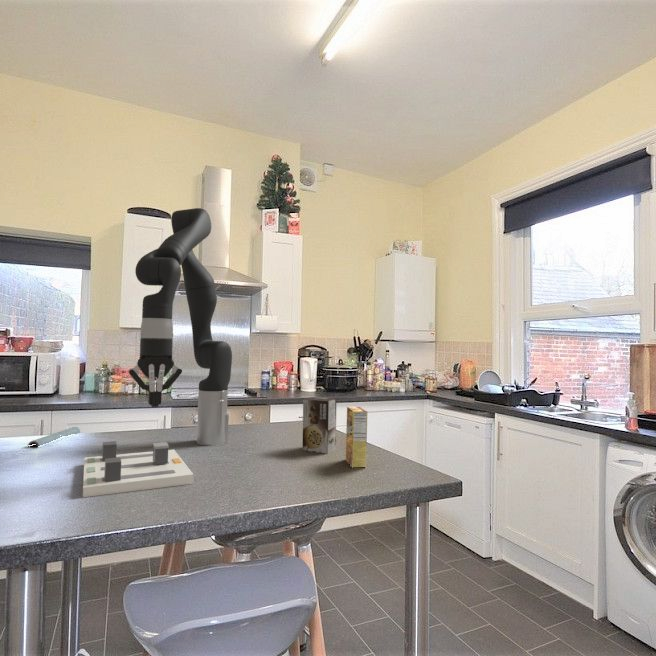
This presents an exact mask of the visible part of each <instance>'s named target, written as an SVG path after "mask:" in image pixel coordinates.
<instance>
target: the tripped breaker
mask: <svg viewBox="0 0 656 656" xmlns="http://www.w3.org/2000/svg"><path fill="white" fill-rule="evenodd" d="M169 448H170V446H169V444H168V442H167V441H164V442H163V441H161V442H152V451H153V462H154V464H164V463H168V450H169Z"/></svg>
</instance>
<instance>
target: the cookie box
mask: <svg viewBox="0 0 656 656" xmlns="http://www.w3.org/2000/svg"><path fill="white" fill-rule="evenodd" d="M301 449H302V451H305V450H308V452H312V451H316V452H315V453H319V452H322V453H321V454H326V453H329V454H331V453H332V452H331V451H333V450H335V449H337V398H333V397H332V398H331V397H316V396H315V397H313V396H312V397H307V398H304V399H302V448H301ZM335 451H336V450H335ZM330 452H331V453H330ZM333 452H334V451H333Z"/></svg>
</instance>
